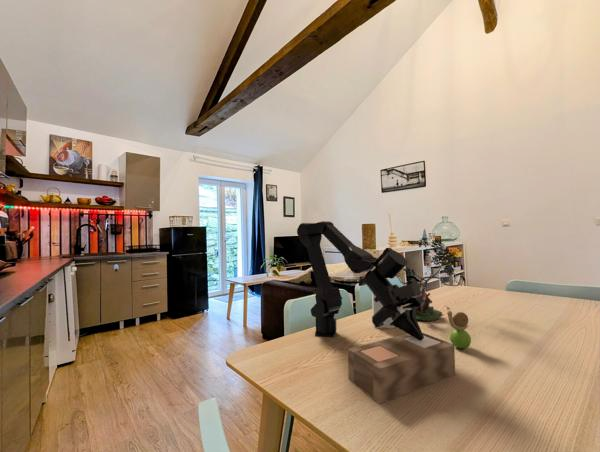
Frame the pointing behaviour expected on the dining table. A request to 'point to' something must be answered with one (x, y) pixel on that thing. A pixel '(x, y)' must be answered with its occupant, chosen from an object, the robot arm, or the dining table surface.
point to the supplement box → (376, 307)
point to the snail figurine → (459, 329)
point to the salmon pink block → (379, 354)
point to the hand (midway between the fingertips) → (422, 339)
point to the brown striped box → (400, 367)
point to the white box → (423, 342)
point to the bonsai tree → (425, 310)
